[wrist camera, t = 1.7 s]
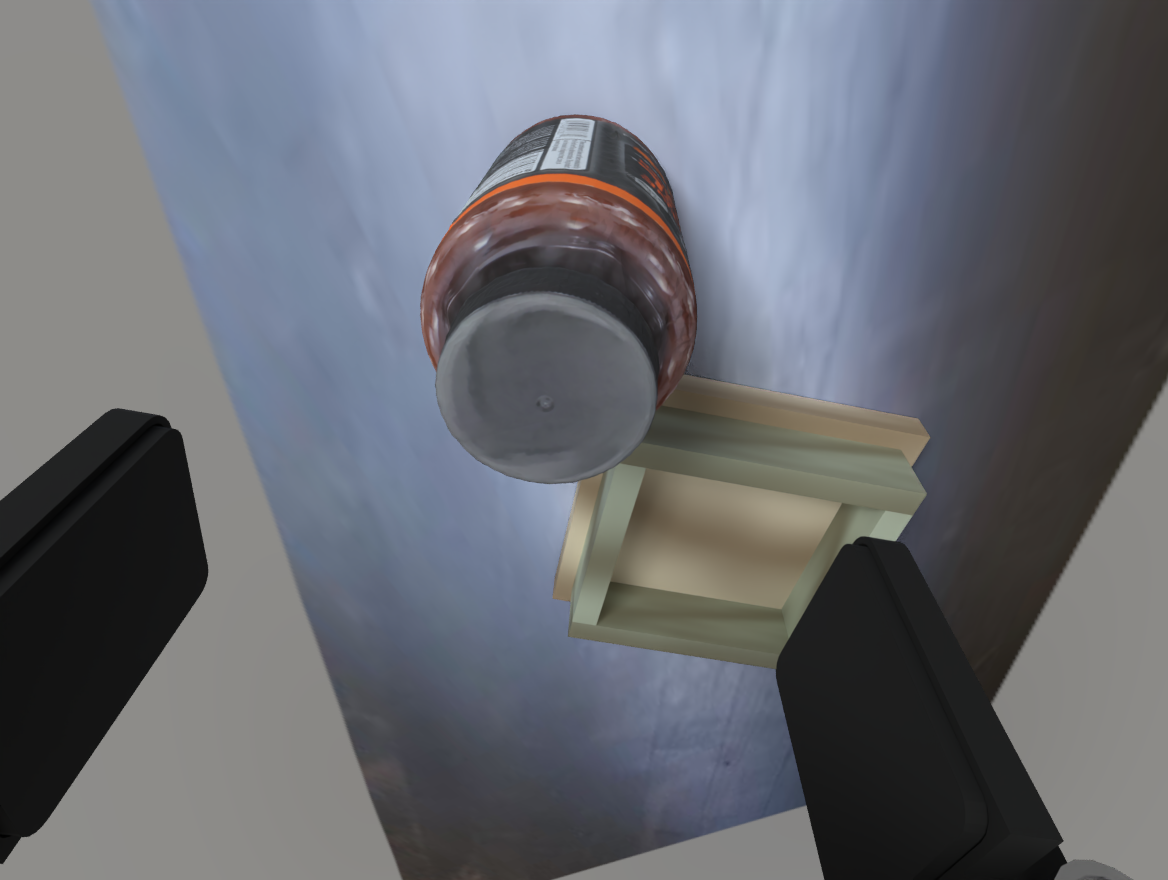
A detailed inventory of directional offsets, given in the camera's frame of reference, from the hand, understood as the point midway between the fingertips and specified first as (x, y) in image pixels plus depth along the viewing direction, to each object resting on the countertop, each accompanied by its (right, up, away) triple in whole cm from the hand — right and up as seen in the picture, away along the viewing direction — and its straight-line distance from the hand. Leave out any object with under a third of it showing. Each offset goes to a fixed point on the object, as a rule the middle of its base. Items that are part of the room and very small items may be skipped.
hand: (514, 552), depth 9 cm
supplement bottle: (+1, +9, +11) cm, 15 cm away
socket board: (+7, -1, +18) cm, 19 cm away
